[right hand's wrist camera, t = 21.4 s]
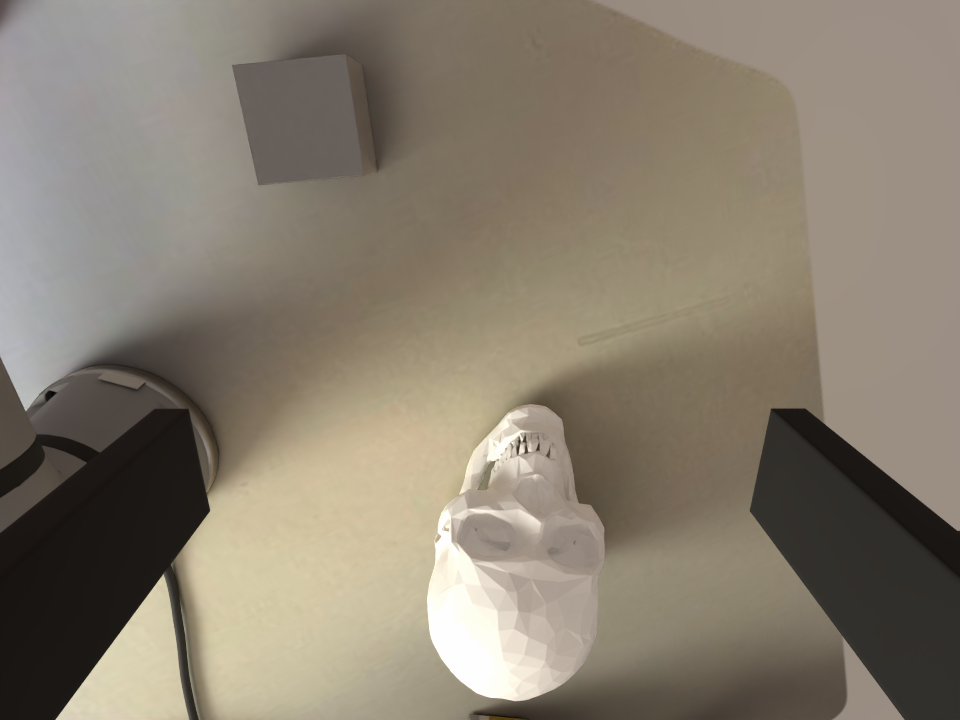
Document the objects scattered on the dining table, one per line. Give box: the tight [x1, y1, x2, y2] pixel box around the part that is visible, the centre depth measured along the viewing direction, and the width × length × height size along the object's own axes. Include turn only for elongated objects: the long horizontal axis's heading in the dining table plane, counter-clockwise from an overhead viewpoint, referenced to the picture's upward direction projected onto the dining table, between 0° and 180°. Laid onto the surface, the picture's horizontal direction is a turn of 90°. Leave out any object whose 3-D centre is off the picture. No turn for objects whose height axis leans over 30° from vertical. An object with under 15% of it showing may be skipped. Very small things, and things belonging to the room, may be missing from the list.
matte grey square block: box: [232, 54, 378, 185], centre depth 37 cm, size 7×7×5 cm
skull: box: [427, 404, 605, 701], centre depth 43 cm, size 13×22×16 cm, turn 175°
